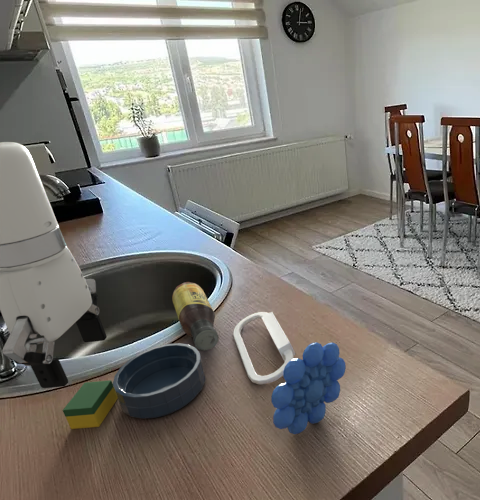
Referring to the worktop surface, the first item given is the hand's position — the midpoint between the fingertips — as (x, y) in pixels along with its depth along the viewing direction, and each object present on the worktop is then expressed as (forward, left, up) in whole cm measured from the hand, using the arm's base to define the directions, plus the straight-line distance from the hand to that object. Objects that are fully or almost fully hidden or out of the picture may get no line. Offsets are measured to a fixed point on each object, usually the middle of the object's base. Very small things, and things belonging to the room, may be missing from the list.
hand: (77, 361), depth 57 cm
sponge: (0, 0, -9) cm, 9 cm away
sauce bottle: (+4, +30, -6) cm, 30 cm away
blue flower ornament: (+32, -4, -10) cm, 33 cm away
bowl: (+9, +4, -9) cm, 13 cm away
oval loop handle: (+23, +12, -10) cm, 27 cm away
